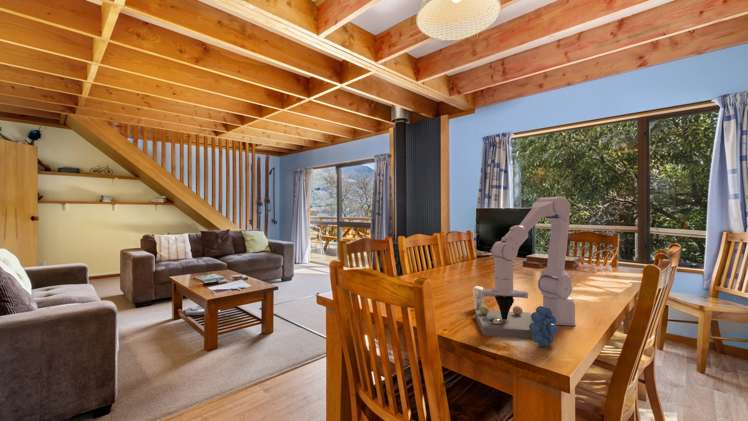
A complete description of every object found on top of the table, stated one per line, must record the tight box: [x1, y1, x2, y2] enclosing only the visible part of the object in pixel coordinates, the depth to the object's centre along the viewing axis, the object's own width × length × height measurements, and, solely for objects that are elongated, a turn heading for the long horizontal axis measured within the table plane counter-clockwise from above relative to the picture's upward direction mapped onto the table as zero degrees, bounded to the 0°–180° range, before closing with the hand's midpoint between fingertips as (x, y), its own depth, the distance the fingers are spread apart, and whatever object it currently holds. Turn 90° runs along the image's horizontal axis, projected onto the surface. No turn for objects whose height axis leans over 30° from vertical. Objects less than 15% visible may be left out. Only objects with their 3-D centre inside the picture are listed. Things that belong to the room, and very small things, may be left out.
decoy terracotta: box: [512, 305, 524, 315], centre depth 114 cm, size 3×3×3 cm
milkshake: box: [472, 285, 486, 311], centre depth 128 cm, size 4×5×10 cm
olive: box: [479, 304, 490, 315], centre depth 115 cm, size 3×3×3 cm
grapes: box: [529, 305, 559, 348], centre depth 93 cm, size 12×7×12 cm, turn 122°
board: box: [474, 309, 533, 339], centre depth 109 cm, size 19×18×2 cm
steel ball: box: [492, 319, 502, 323], centre depth 108 cm, size 3×3×3 cm
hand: (504, 318), depth 108 cm, fingers closed
